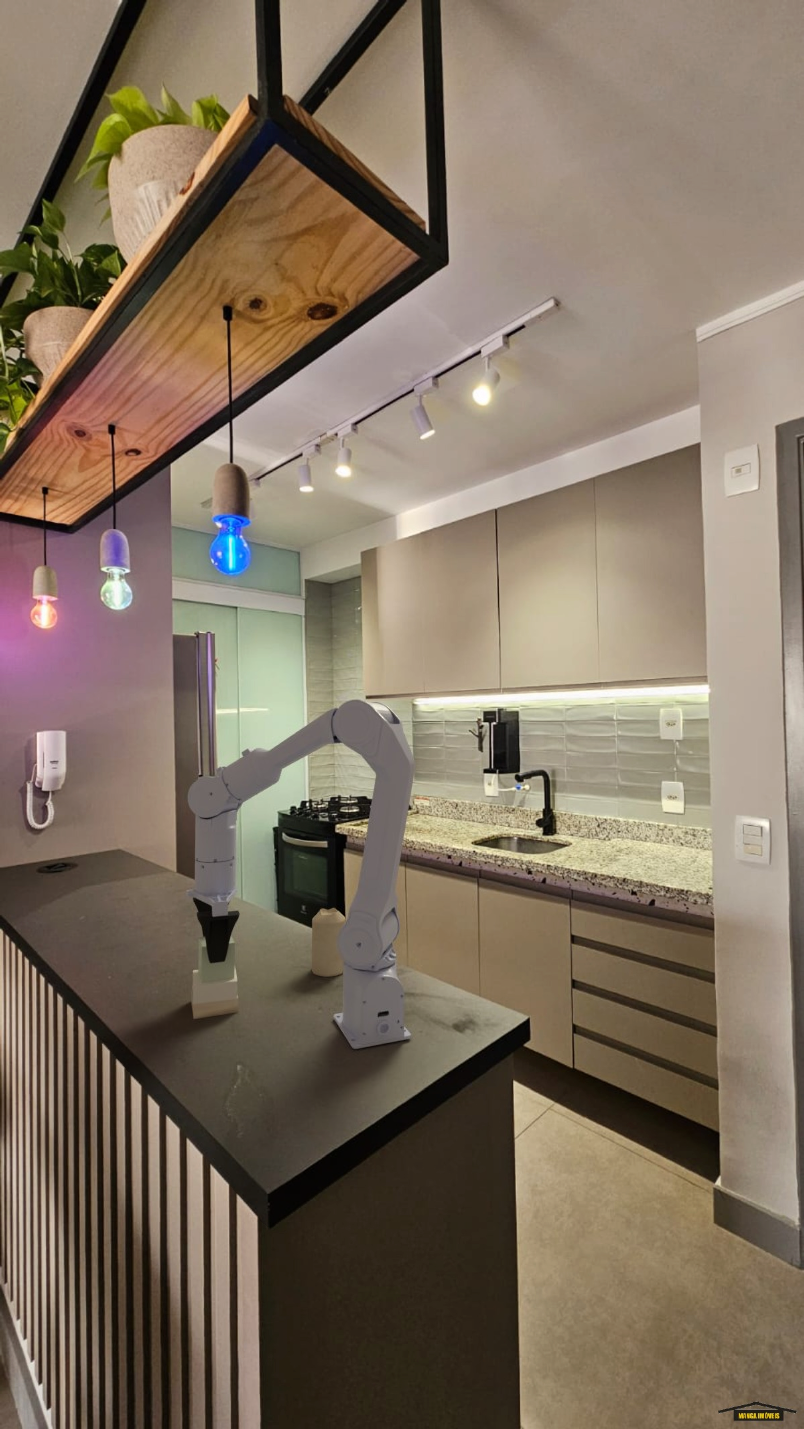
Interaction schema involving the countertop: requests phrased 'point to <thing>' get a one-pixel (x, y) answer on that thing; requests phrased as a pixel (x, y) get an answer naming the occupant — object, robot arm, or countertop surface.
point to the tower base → (213, 1007)
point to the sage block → (215, 970)
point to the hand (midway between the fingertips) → (214, 952)
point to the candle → (326, 943)
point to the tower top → (213, 989)
